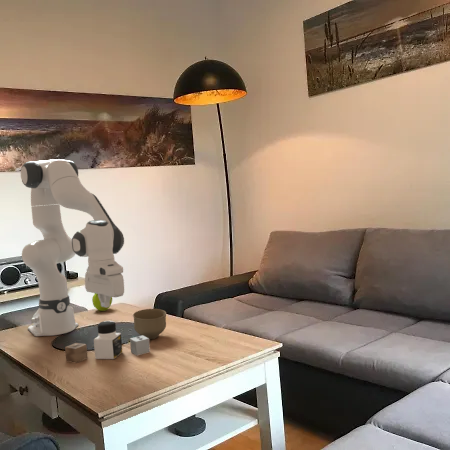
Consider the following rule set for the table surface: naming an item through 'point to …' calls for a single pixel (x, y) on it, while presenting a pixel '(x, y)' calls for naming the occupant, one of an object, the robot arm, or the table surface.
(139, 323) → the bowl
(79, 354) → the walnut block
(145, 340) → the grey painted block
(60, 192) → the robot arm
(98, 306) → the fruit
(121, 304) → the table surface
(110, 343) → the medicine bottle
